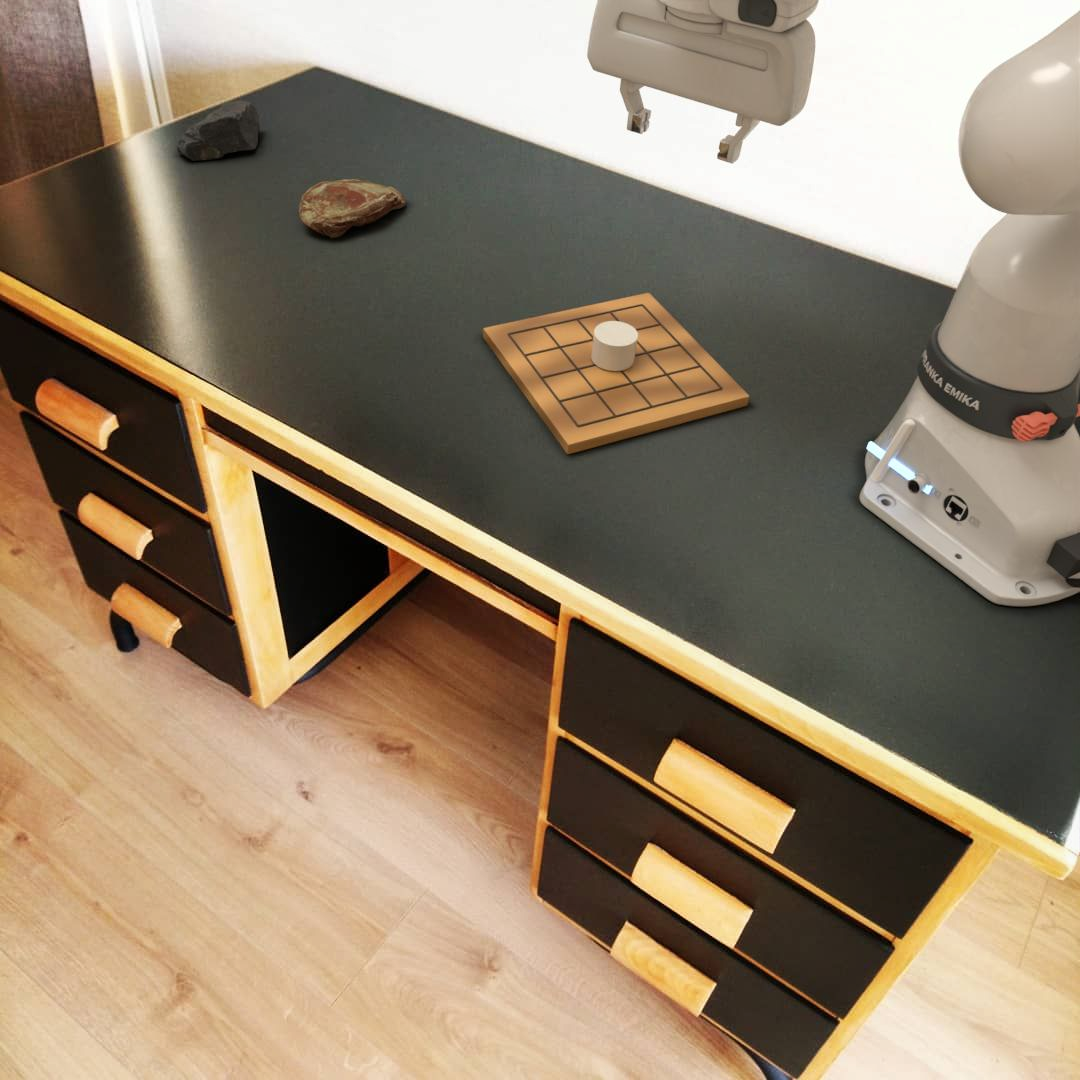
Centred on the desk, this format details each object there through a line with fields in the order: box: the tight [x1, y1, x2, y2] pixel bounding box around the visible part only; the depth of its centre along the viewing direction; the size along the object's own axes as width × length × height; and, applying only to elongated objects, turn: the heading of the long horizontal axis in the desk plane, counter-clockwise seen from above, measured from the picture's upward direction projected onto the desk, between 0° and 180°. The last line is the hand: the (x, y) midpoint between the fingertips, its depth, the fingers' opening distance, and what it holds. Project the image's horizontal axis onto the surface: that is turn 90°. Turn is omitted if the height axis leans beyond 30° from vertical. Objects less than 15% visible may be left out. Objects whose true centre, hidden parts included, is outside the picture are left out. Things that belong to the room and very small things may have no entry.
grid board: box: [482, 292, 750, 455], centre depth 95 cm, size 20×20×1 cm
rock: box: [176, 100, 261, 162], centre depth 124 cm, size 10×6×10 cm
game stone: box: [591, 321, 638, 371], centre depth 94 cm, size 4×4×3 cm
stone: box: [298, 178, 407, 239], centre depth 114 cm, size 13×10×3 cm
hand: (681, 144), depth 87 cm, fingers open, 8 cm apart
